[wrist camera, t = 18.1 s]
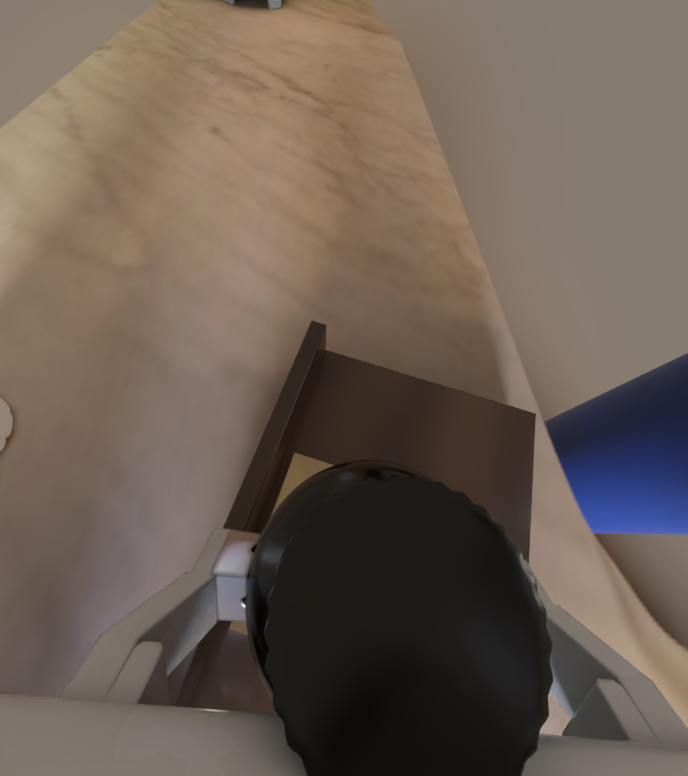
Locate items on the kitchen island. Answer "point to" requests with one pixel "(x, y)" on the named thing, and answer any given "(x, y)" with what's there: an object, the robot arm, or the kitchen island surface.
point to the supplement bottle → (397, 628)
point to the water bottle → (5, 423)
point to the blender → (273, 3)
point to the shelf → (349, 443)
